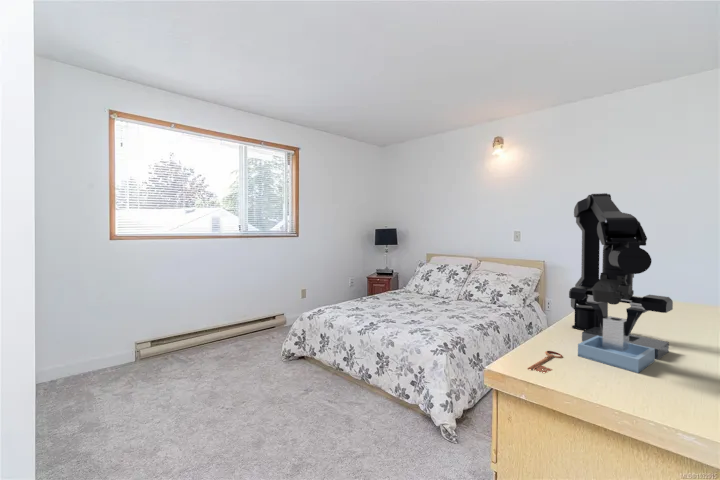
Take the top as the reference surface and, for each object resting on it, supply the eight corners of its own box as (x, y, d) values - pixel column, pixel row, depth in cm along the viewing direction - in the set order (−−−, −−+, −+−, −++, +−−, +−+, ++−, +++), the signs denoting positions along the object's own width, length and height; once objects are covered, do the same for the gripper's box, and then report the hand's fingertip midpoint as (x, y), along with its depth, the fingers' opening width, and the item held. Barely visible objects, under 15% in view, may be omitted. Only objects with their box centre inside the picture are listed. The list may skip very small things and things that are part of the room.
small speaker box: (602, 347, 78) (603, 318, 77) (608, 343, 80) (609, 315, 80) (622, 352, 74) (623, 321, 74) (628, 348, 77) (629, 319, 76)
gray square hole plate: (581, 340, 90) (582, 332, 90) (595, 335, 95) (595, 326, 95) (657, 359, 76) (658, 349, 76) (668, 351, 81) (668, 342, 81)
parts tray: (577, 356, 79) (578, 343, 79) (597, 346, 85) (597, 335, 85) (638, 373, 69) (638, 359, 69) (654, 361, 76) (654, 348, 76)
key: (547, 379, 68) (573, 360, 77) (548, 374, 68) (574, 357, 77) (520, 367, 72) (547, 351, 82) (520, 363, 72) (548, 348, 82)
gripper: (559, 267, 80) (558, 329, 80) (659, 276, 64) (657, 352, 65) (579, 264, 86) (578, 322, 86) (674, 272, 71) (672, 342, 71)
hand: (615, 333), depth 77 cm, fingers closed on small speaker box, 4 cm apart
